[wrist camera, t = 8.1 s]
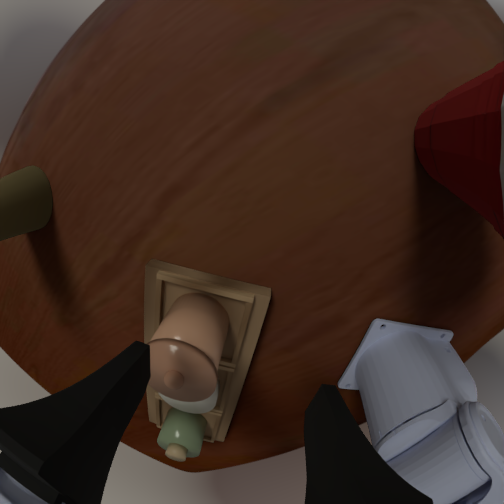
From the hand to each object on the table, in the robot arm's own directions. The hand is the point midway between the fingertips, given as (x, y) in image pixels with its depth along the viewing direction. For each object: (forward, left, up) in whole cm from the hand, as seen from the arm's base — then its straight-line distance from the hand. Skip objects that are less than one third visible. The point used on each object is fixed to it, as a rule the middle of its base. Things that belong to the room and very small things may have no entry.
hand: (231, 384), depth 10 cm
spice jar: (+3, +4, -9) cm, 10 cm away
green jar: (+3, +18, -9) cm, 20 cm away
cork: (+21, -2, -10) cm, 23 cm away
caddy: (+3, +11, -10) cm, 15 cm away
